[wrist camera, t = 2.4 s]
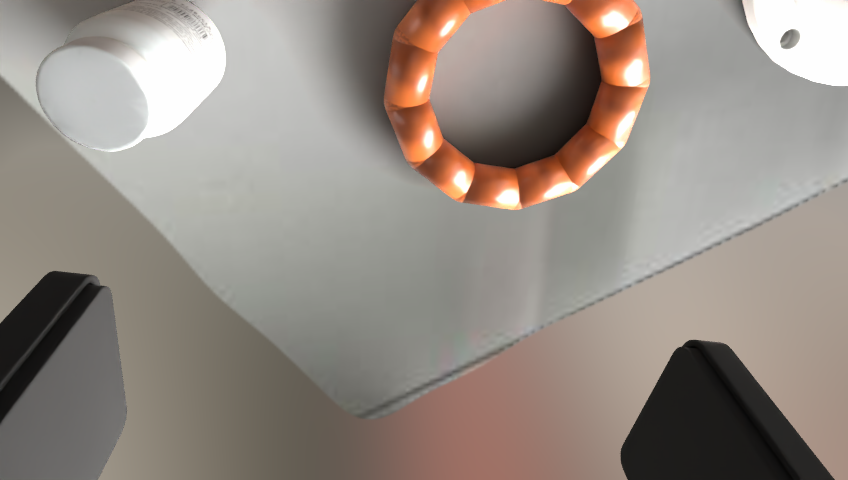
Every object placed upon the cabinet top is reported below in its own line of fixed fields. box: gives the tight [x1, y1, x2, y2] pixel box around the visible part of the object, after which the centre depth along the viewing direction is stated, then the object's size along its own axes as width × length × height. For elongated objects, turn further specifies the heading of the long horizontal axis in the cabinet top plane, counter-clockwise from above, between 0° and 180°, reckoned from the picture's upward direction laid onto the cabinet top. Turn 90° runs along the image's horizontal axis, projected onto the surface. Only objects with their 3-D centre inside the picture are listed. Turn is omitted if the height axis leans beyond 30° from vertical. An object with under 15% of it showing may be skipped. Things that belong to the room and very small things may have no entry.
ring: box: [384, 0, 650, 210], centre depth 24 cm, size 12×12×2 cm
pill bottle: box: [36, 0, 226, 151], centre depth 20 cm, size 4×4×8 cm
